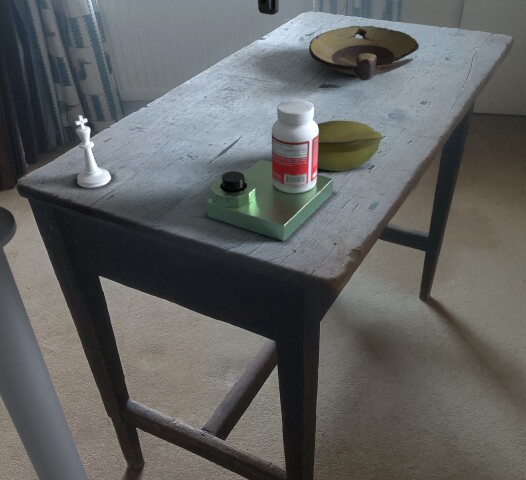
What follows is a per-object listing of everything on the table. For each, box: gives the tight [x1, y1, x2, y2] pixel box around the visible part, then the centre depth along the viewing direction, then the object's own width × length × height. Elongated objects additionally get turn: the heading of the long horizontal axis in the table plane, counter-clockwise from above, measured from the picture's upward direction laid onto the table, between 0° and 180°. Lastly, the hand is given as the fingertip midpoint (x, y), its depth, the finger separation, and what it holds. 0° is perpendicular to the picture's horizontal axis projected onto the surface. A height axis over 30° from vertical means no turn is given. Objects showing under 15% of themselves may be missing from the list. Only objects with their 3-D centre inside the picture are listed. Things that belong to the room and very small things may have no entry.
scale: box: [206, 159, 334, 242], centre depth 81 cm, size 14×12×4 cm
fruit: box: [316, 120, 384, 172], centre depth 89 cm, size 11×12×7 cm
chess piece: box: [74, 114, 112, 189], centre depth 85 cm, size 5×5×10 cm
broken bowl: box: [308, 25, 420, 82], centre depth 120 cm, size 22×30×8 cm
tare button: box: [221, 170, 245, 192], centre depth 78 cm, size 3×3×2 cm
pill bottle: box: [271, 98, 318, 193], centre depth 78 cm, size 6×6×11 cm
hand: (287, 4), depth 68 cm, fingers open, 8 cm apart
